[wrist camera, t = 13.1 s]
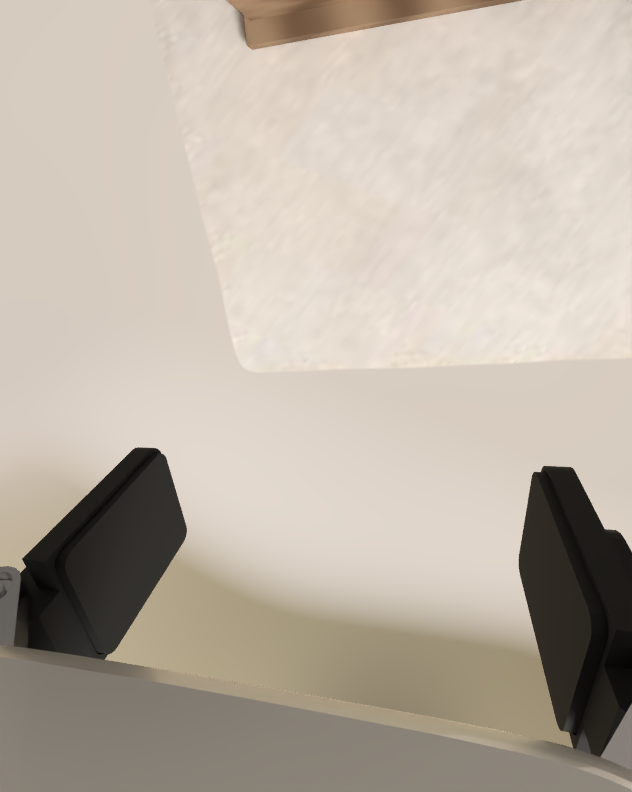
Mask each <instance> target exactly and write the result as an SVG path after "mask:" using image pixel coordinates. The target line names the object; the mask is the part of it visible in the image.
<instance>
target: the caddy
mask: <svg viewBox="0 0 632 792" xmlns="http://www.w3.org/2000/svg"><path fill="white" fill-rule="evenodd" d="M227 1H228V2H229V3H230V4H231V5H233V6H234V7H235V8H236V9H237V10H238V11H240V12H241V13H242V14H243V16H244V24H245V31H246V39H247V46H248V47H250V48H251V49H252V50H253V49H258V48H264V47H269V46H274V45H280V44H285V43H291V42H296V41H302V40H307V39H313V38H318V37H324V36H329V35H335V34H340V33H346V32H351V31H357V30H362V29H368V28H373V27H379V26H384V25H390V24H395V23H401V22H406V21H411V20H417V19H422V18H428V17H433V16H439V15H444V14H450V13H455V12H461V11H466V10H472V9H477V8H483V7H488V6H494V5H499V4H505V3H510V2H516V1H521V0H227Z"/></svg>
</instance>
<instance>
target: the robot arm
mask: <svg viewBox="0 0 632 792" xmlns="http://www.w3.org/2000/svg"><path fill="white" fill-rule="evenodd" d="M186 533H187V528H186V524H185V520H184V517H183V514H182V510H181V507H180V503H179V500H178V497H177V493H176V490H175V486H174V483H173V480H172V476H171V473H170V470H169V466H168V463H167V459H166V457H165V456H164V455H163V454H161V452H160V451H159V450H158V449H156V448H135V449H133V450H132V451H131V452H130V453H129V454H128V455H127V456H126V457H125V458H124V459H123V460H122V461H121V462H120V463H119V464H118V465H117V466H116V467H115V468H114V469H113V470H112V471H111V472H110V473H109V474H108V475H107V476H106V477H105V478H104V479H103V480H102V481H101V482H100V483H99V484H98V485H97V486H96V487H95V488H94V489H93V490H92V491H91V492H90V493H89V494H88V495H87V496H85V498H83V499H82V500H81V501H80V502H79V503H78V504H77V506H75V507H74V508H73V509H72V510H71V511H70V512H69V513H68V514H67V515H66V516H65V517H64V518H63V519H62V520H61V521H60V522H59V523H58V524H57V525H56V526H55V527H54V528H53V529H52V530H51V531H50V532H49V533H48V534H47V535H46V536H45V537H44V538H43V539H42V540H41V541H40V542H39V543H38V544H37V545H36V546H35V547H34V548H33V549H32V550H31V551H30V552H29V553H28V554H27V555H26V556H25V557H24V558H23V559H22V560H23V562H24V563H25V565H26V568H25V569H24V570H23V571H22V572H21V573H20V572H19V571H18V570H17V569H16V568H14V567H9V566H6V567H0V792H632V552H631V550H630V548H629V546H628V544H627V543H626V541H625V539H624V538H623V536H622V535H621V533H619V532H618V531H616V530H605V529H604V527H603V525H602V523H601V521H600V520H599V517H598V515H597V514H596V512H595V510H594V508H593V506H592V504H591V502H590V500H589V498H588V496H587V494H586V492H585V490H584V488H583V486H582V484H581V482H580V480H579V479H578V477H577V474H576V473H575V471H574V469H573V468H571V467H555V466H544V467H543V468H542V471H541V472H534V473H533V475H532V480H531V487H530V492H529V498H528V505H527V511H526V517H525V523H524V529H523V535H522V541H521V548H520V554H519V571H520V576H521V579H522V584H523V588H524V592H525V596H526V600H527V604H528V608H529V612H530V616H531V620H532V624H533V628H534V632H535V636H536V640H537V644H538V649H539V653H540V656H541V660H542V665H543V669H544V673H545V676H546V681H547V685H548V689H549V693H550V697H551V701H552V705H553V709H554V713H555V717H556V721H557V724H558V726H559V729H560V730H561V731H566V732H569V733H570V737H571V740H572V745H573V748H571V747H567V746H564V745H560V744H556V743H552V742H548V741H544V740H540V739H536V738H532V737H528V736H524V735H519V734H515V733H511V732H505V731H500V730H495V729H490V728H485V727H480V726H475V725H470V724H464V723H460V722H455V721H450V720H445V719H439V718H434V717H429V716H424V715H418V714H412V713H407V712H401V711H396V710H390V709H385V708H379V707H374V706H368V705H362V704H357V703H351V702H346V701H339V700H335V699H329V698H323V697H318V696H312V695H307V694H301V693H295V692H289V691H284V690H278V689H272V688H266V687H260V686H255V685H249V684H243V683H238V682H232V681H226V680H220V679H215V678H209V677H203V676H197V675H191V674H185V673H180V672H174V671H168V670H162V669H156V668H150V667H144V666H138V665H132V664H126V663H120V662H114V661H108V660H105V658H106V656H107V655H108V654H110V653H112V652H113V651H115V649H116V648H117V647H118V645H119V643H120V642H121V640H122V639H123V637H124V635H125V634H126V632H127V630H128V629H129V627H130V626H131V624H132V623H133V621H134V619H135V618H136V616H137V615H138V613H139V611H140V610H141V609H142V607H143V605H144V604H145V602H146V600H147V599H148V597H149V596H150V594H151V592H152V591H153V589H154V588H155V586H156V584H157V583H158V581H159V580H160V578H161V577H162V575H163V574H164V572H165V570H166V569H167V567H168V566H169V564H170V562H171V560H172V559H173V558H174V556H175V554H176V553H177V551H178V550H179V548H180V547H181V545H182V543H183V542H184V540H185V537H186Z"/></svg>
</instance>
